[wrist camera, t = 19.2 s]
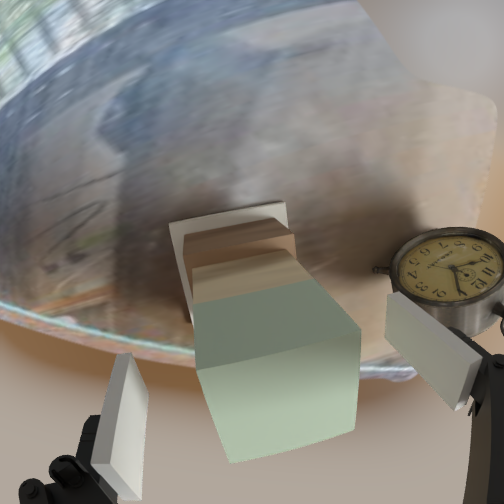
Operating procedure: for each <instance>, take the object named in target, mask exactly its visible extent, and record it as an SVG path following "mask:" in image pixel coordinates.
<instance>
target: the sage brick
mask: <svg viewBox="0 0 504 504" xmlns="http://www.w3.org/2000/svg"><path fill="white" fill-rule="evenodd" d="M193 321H194V343H195V361H196V372H197V375H198V378H199V381H200V384H201V387H202V390H203V393H204V395H205V399H206V401H207V404H208V407H209V410H210V413H211V416H212V418H213V421H214V424H215V427H216V429H217V432H218V435H219V437H220V440H221V442H222V445H223V447H224V450H225V453H226V455H227V458H228V460H229V463H230V464H231V463H236V462H241V461H246V460H251V459H256V458H260V457H265V456H269V455H273V454H277V453H281V452H285V451H289V450H292V449H296V448H300V447H303V446H307V445H310V444H313V443H316V442H320V441H323V440H326V439H329V438H332V437H335V436H338V435H341V434H344V433H347V432H350V431H352V430H354V428H355V419H356V409H357V397H358V385H359V371H360V353H361V328H360V327H359V326H358V325H357V324H356V323H355V322H354V321H353V320H352V319H351V317H350V316H349V315H348V314H347V313H346V312H345V311H344V310H343V309H342V308H341V307H340V305H339V304H338V303H337V302H336V301H335V300H334V299H333V298H332V297H331V296H330V295H329V294H328V292H327V291H326V290H325V289H324V288H323V287H322V286H321V285H320V284H319V283H318V282H317V281H316V279H315V278H314V279H310V280H305V281H301V282H297V283H292V284H288V285H283V286H279V287H274V288H270V289H265V290H261V291H256V292H251V293H247V294H242V295H237V296H232V297H228V298H223V299H218V300H213V301H208V302H203V303H198V304H193Z"/></svg>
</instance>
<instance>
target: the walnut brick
mask: <svg viewBox="0 0 504 504" xmlns="http://www.w3.org/2000/svg"><path fill="white" fill-rule="evenodd" d="M282 250H288V251H289V253H290V254H291V255H292V256H293V257H294V258H295V259H296V260H297V258H296V248H295V239H294V233H292V232H291V231H290V230H289V229H288V228H286V227H285V226H284V225H283V224H282V223H280V222H279V221H278V220H277V219H276V218H269V219H264V220H258V221H253V222H247V223H242V224H237V225H231V226H226V227H221V228H216V229H210V230H205V231H200V232H195V233H190V234H185V235H184V243H183V260H184V264H185V269H186V273H187V277H188V281H189V286H190V290H191V294H192V298H193V278H192V268H197V267H202V266H207V265H212V264H217V263H222V262H227V261H232V260H237V259H242V258H247V257H252V256H257V255H262V254H267V253H272V252H277V251H282Z"/></svg>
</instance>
